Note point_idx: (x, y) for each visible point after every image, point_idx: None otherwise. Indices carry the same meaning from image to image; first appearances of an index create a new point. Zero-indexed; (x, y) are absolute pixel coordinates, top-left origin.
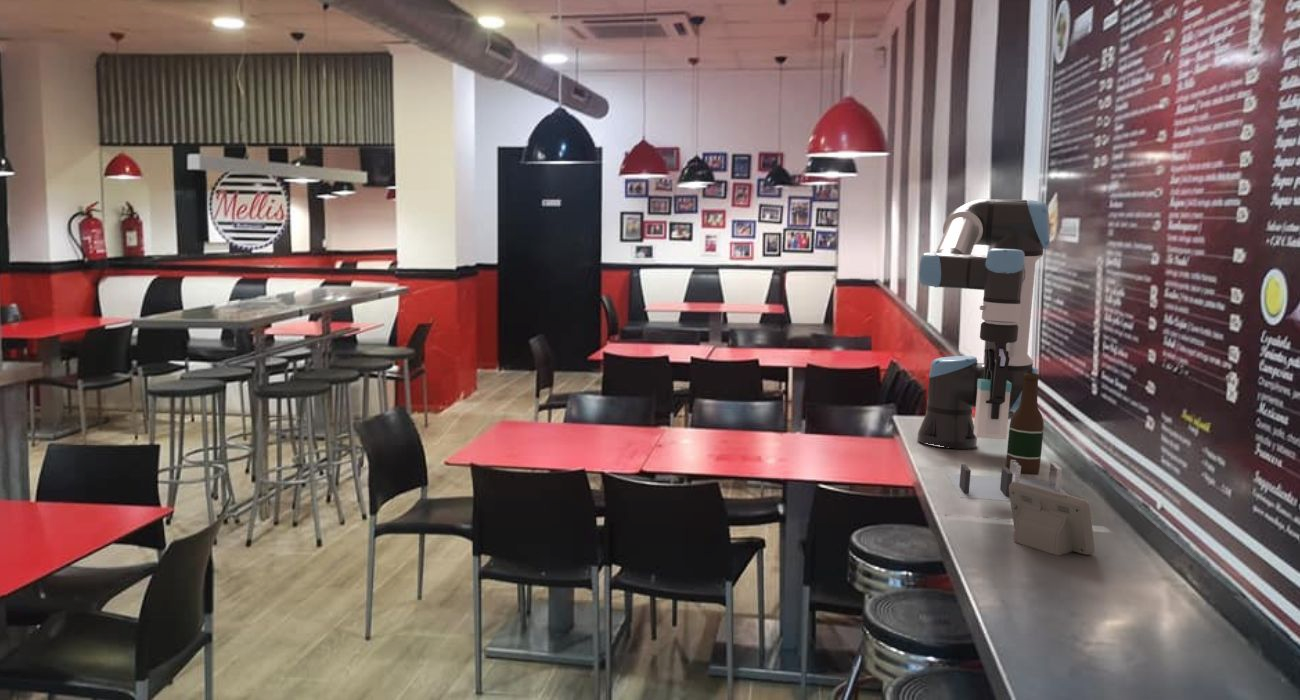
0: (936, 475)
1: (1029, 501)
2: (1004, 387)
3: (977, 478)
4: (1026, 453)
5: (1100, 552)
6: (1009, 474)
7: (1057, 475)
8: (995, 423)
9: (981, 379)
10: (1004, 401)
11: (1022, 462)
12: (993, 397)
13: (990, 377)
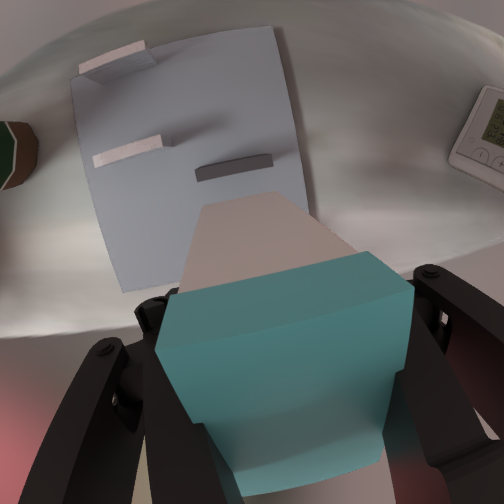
0: (119, 304)
1: (498, 159)
2: (499, 314)
3: (126, 230)
4: (9, 146)
5: (470, 72)
6: (272, 162)
7: (149, 52)
8: None
9: (272, 485)
10: (438, 266)
11: (21, 151)
12: (443, 331)
13: (230, 476)
